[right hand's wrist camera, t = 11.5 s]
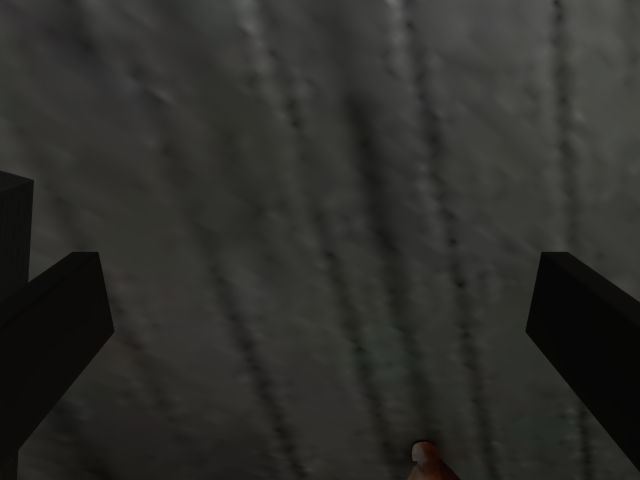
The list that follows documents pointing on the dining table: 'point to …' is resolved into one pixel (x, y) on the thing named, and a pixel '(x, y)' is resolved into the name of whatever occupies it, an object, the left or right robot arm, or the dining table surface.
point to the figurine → (429, 464)
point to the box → (14, 251)
